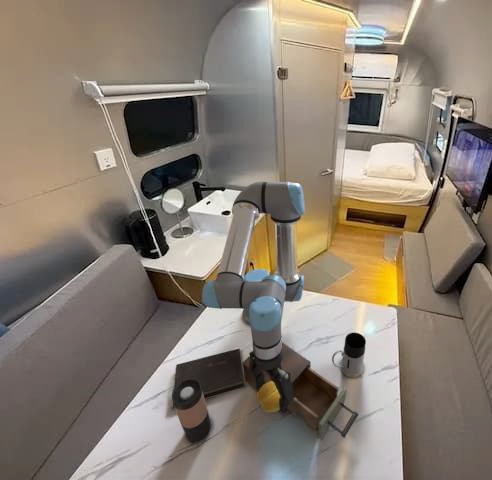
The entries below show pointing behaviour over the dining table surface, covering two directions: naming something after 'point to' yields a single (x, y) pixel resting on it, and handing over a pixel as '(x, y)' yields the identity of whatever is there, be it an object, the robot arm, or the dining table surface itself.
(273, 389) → the bread roll
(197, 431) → the travel mug
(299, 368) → the cabinet
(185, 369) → the hardcover book
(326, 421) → the drawer
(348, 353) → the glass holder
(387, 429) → the dining table surface
